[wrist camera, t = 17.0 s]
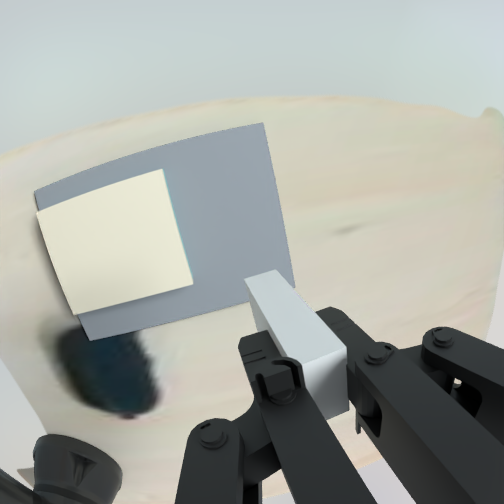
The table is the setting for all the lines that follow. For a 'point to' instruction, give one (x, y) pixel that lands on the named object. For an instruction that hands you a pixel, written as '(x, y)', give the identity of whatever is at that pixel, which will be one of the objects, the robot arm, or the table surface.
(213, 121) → the table surface
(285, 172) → the table surface
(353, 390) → the robot arm
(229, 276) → the mat
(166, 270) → the board
